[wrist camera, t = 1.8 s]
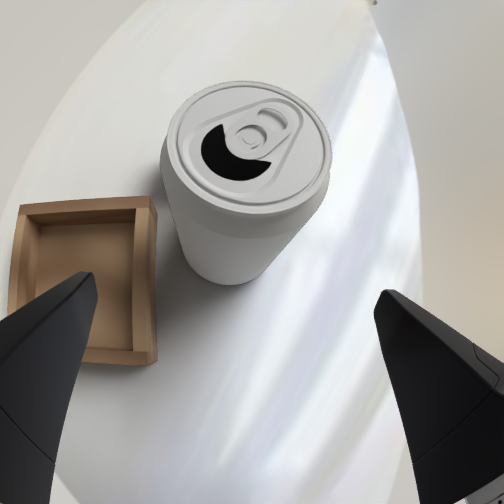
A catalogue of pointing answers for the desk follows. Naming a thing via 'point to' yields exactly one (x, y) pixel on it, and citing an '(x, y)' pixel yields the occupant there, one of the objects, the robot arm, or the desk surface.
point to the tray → (94, 268)
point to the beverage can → (243, 176)
